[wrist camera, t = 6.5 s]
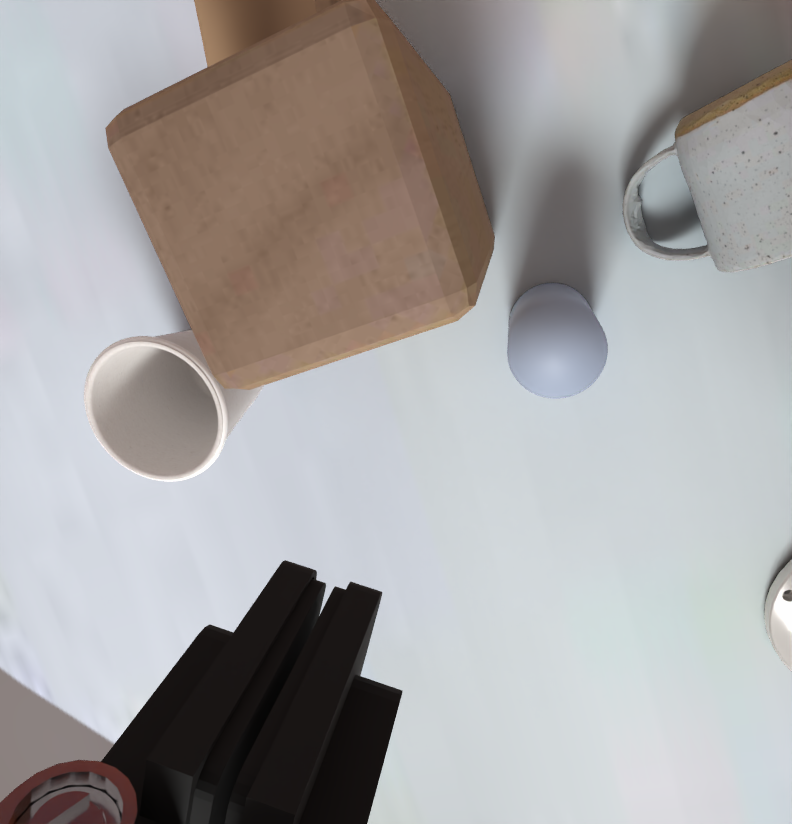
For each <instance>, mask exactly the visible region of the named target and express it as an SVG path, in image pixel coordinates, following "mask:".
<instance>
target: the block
mask: <svg viewBox="0 0 792 824" xmlns="http://www.w3.org/2000/svg"><path fill="white" fill-rule="evenodd" d="M106 135H107V142H108V148H109V150H110V153H111V155H112V157H113V159H114V161H115V163H116V166H117V168H118V170H119V172H120V174H121V177H122V179H123V181H124V183H125V185H126V187H127V190H128V192H129V194H130V196H131V198H132V201H133V203H134V205H135V207H136V209H137V211H138V214H139V216H140V218H141V220H142V222H143V224H144V227H145V229H146V231H147V233H148V235H149V238H150V240H151V242H152V244H153V246H154V248H155V251H156V253H157V255H158V257H159V259H160V261H161V264H162V266H163V268H164V270H165V272H166V275H167V277H168V279H169V281H170V283H171V285H172V288H173V290H174V292H175V294H176V296H177V298H178V301H179V303H180V305H181V307H182V309H183V312H184V314H185V316H186V318H187V320H188V322H189V325H190V327H191V329H192V331H193V333H194V335H195V338H196V340H197V342H198V344H199V346H200V349H201V351H202V353H203V355H204V357H205V359H206V362H207V364H208V366H209V368H210V370H211V372H212V375H213V376H214V378H215V379H216V380H217V381H218V382H219V383H220V384H221V385H222V386H223V387H224V389H245V390H251V389H254V388H257V387H260V386H263V385H266V384H269V383H272V382H275V381H278V380H281V379H284V378H287V377H290V376H293V375H296V374H299V373H302V372H305V371H308V370H311V369H314V368H317V367H320V366H323V365H326V364H329V363H332V362H335V361H338V360H341V359H344V358H347V357H350V356H353V355H356V354H359V353H362V352H365V351H368V350H371V349H374V348H377V347H380V346H383V345H386V344H389V343H392V342H395V341H398V340H401V339H404V338H407V337H410V336H413V335H416V334H419V333H422V332H425V331H428V330H431V329H434V328H437V327H440V326H443V325H446V324H449V323H452V322H455V321H458V320H459V319H460V318H461V317H462V316H464V315H465V314H466V313H467V312H468V311H469V310H471V309H472V308H473V307H474V306H475V305H476V302H477V299H478V296H479V293H480V289H481V286H482V283H483V280H484V277H485V274H486V271H487V268H488V265H489V262H490V259H491V256H492V253H493V250H494V239H495V236H494V232H493V229H492V226H491V223H490V220H489V217H488V213H487V210H486V207H485V204H484V201H483V198H482V194H481V191H480V188H479V185H478V182H477V179H476V175H475V172H474V169H473V166H472V163H471V160H470V157H469V153H468V150H467V147H466V144H465V141H464V138H463V134H462V131H461V128H460V125H459V122H458V119H457V115H456V112H455V109H454V106H453V103H452V100H451V96H450V94H449V93H448V92H447V90H446V89H445V88H444V86H443V85H442V84H441V83H440V81H439V80H438V79H437V78H436V76H435V75H434V74H433V73H432V71H431V70H430V69H429V67H428V66H427V65H426V64H425V62H424V61H423V60H422V59H421V57H420V56H419V55H418V54H417V52H416V51H415V50H414V48H413V47H412V46H411V45H410V43H409V42H408V41H407V40H406V38H405V37H404V36H403V35H402V33H401V32H400V31H399V29H398V28H397V27H396V26H395V24H394V23H393V22H392V21H391V19H390V18H389V17H388V16H387V15H386V13H385V12H384V11H383V10H382V9H381V7H380V6H379V5H378V4H377V3H376V1H375V0H341V1H339V2H337V3H335V4H333V5H331V6H329V7H327V8H325V9H323V10H321V11H319V12H317V13H315V14H313V15H311V16H309V17H307V18H305V19H303V20H301V21H299V22H297V23H295V24H293V25H291V26H289V27H287V28H285V29H283V30H281V31H279V32H277V33H275V34H273V35H271V36H269V37H267V38H265V39H263V40H261V41H259V42H257V43H255V44H253V45H251V46H249V47H247V48H245V49H243V50H241V51H239V52H237V53H235V54H233V55H231V56H229V57H227V58H225V59H223V60H221V61H219V62H217V63H215V64H213V65H211V66H209V67H207V68H205V69H203V70H201V71H199V72H197V73H195V74H193V75H191V76H189V77H187V78H185V79H183V80H181V81H179V82H177V83H175V84H173V85H171V86H169V87H167V88H165V89H163V90H161V91H159V92H157V93H155V94H153V95H151V96H149V97H147V98H145V99H143V100H141V101H139V102H138V103H136V104H134V105H132V106H130V107H128V108H126V109H124V110H123V111H121V112H120V113H119V114H118V115H117V116H116V117H115V118H114V119H113V120H112V121H111V122H110V124H109V125H108V126H107V127H106Z"/></svg>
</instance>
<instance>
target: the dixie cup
mask: <svg viewBox="0 0 792 824" xmlns="http://www.w3.org/2000/svg"><path fill="white" fill-rule="evenodd" d="M263 387H264V385H263V386H260V387H257V388H254V389H251V390H245V389H224V387H223V386H222V385H221V384H220V383H219V382H218V381H217V380H216V379H215V378H214V376H213V375H212V372H211V370H210V368H209V366H208V364H207V362H206V359H205V357H204V355H203V353H202V351H201V349H200V346H199V344H198V342H197V340H196V338H195V335H194V333H193V331H192V330H187V331H182V332H176V333H171V334H166V335H161V336H156V337H148V336H138V337H130V338H126V339H123V340H120V341H118V342H115V343H114V344H112V345H110V346H109V347H107V348H106V349H105V350H103V351H102V352H101V353H100V354H99V355H98V357H97V358H96V359H95V361H94V362H93V364H92V366H91V367H90V370H89V372H88V375H87V378H86V382H85V389H84V402H85V409H86V414H87V417H88V420H89V423H90V426H91V428H92V430H93V432H94V434H95V436H96V437H97V439H98V441H99V442H100V444H101V445H102V446H103V447H104V449H105V450H106V451H107V452H108V453H109V454H110V455H111V456H112V457H113V458H114V459H115V460H116V461H117V462H119V463H120V464H121V465H123V466H124V467H125V468H127V469H129V470H130V471H132V472H134V473H136V474H138V475H141V476H143V477H146V478H149V479H153V480H159V481H180V480H185V479H189V478H191V477H194V476H196V475H198V474H200V473H202V472H203V471H205V470H206V469H207V468H208V467H210V466H211V465H212V464H213V463H214V461H215V460H216V459H217V458H218V456H219V454H220V453H221V451H222V449H223V447H224V444H225V441H226V439H227V437H228V436H229V435H230V433H231V432H232V430H233V429H234V428H235V426H236V425H237V424H238V422H239V421H240V419H241V418H242V417H243V415H244V414H245V412H246V411H247V410H248V408H249V407H250V406H251V404H252V403H253V402H254V401H255V399H256V398H257V396H258V395H259V393H260V392H261V390H262V389H263Z"/></svg>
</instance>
